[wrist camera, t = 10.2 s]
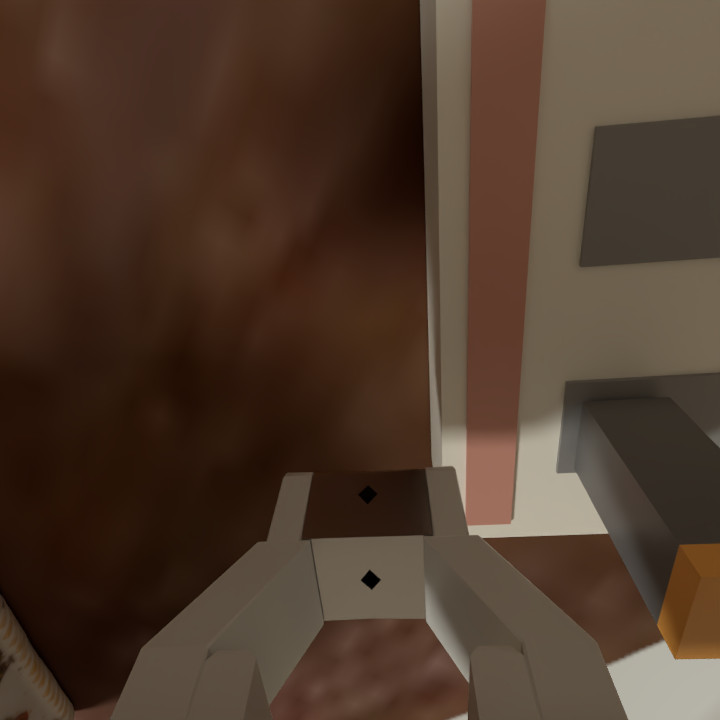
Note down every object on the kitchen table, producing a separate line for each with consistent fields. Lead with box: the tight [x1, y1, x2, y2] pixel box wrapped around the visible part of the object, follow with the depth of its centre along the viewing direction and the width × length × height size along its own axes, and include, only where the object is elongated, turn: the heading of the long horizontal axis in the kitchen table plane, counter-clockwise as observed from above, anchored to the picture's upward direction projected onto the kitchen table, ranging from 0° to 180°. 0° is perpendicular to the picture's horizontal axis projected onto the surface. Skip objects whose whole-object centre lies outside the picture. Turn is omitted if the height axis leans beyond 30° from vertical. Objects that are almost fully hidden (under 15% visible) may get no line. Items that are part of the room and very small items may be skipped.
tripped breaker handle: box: [574, 397, 720, 659], centre depth 8 cm, size 2×2×4 cm
